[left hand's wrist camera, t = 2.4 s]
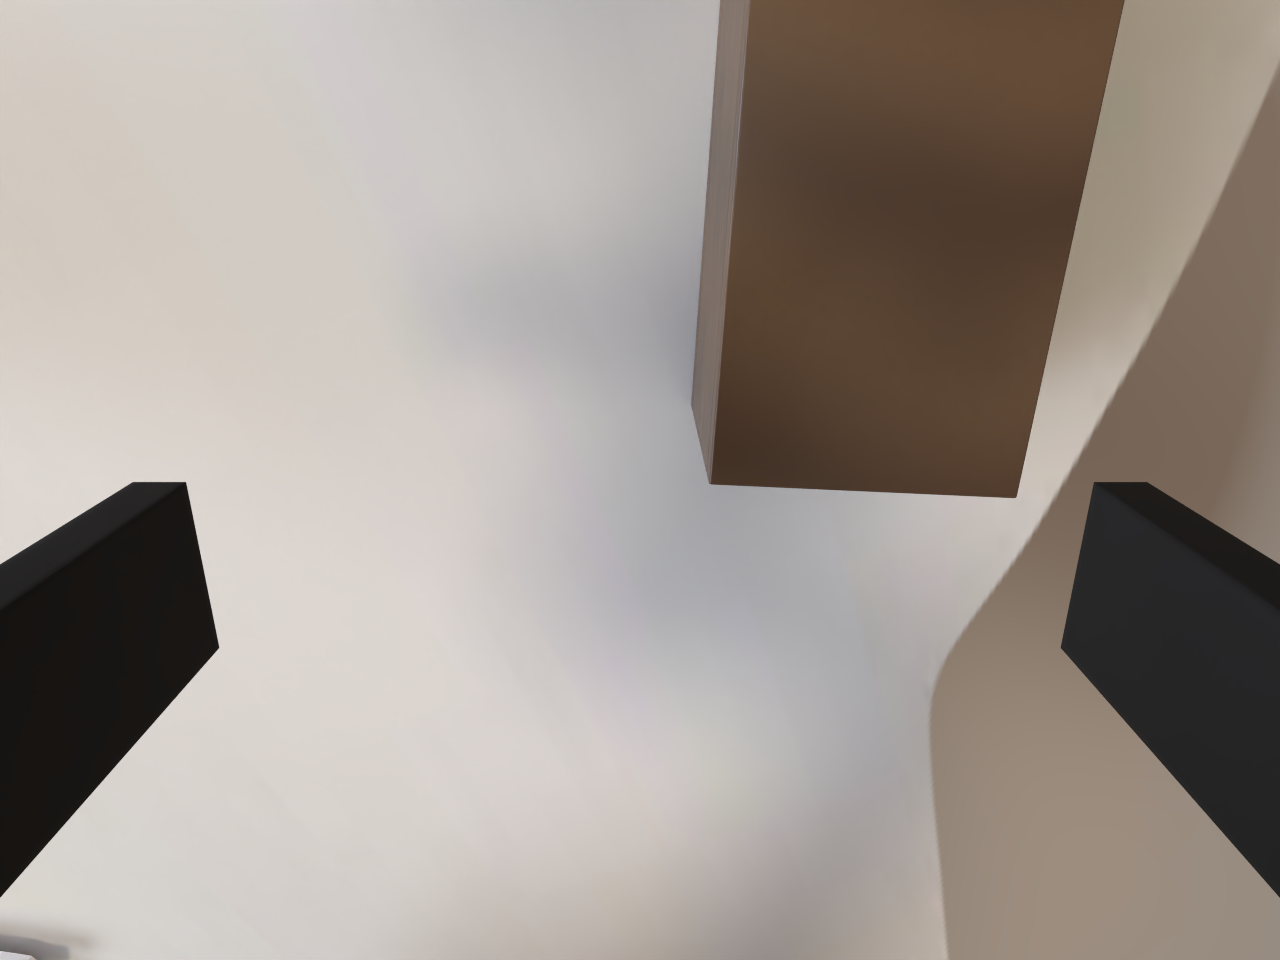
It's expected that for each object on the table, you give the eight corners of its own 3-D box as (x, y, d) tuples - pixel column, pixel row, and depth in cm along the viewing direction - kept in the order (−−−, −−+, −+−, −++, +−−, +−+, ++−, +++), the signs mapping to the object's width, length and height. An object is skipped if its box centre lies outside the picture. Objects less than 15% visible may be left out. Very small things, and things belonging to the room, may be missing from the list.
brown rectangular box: (728, -117, 30) (768, -245, 20) (1009, -100, 30) (1173, -221, 21) (690, 406, 36) (708, 485, 27) (922, 417, 36) (1017, 498, 27)
